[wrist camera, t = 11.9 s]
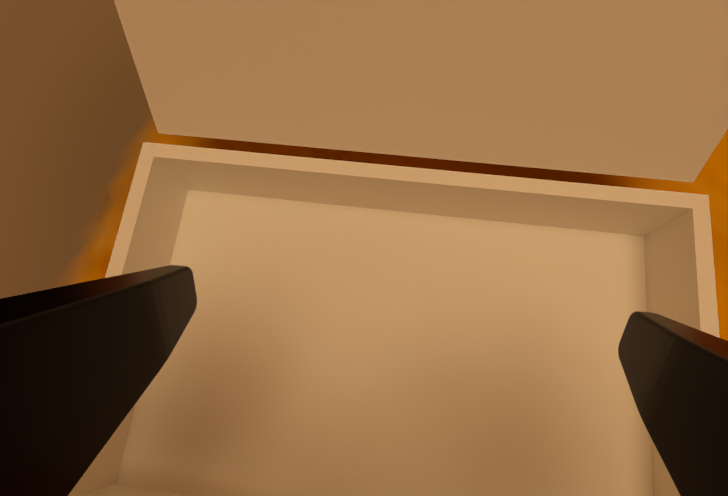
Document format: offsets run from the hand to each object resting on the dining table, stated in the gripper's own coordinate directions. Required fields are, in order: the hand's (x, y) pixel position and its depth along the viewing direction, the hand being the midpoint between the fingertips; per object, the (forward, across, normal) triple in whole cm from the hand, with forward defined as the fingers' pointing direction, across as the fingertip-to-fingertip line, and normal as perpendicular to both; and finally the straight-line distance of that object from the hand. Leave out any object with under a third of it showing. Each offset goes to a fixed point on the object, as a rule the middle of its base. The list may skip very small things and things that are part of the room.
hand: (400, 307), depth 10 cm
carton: (+8, 0, -8) cm, 11 cm away
